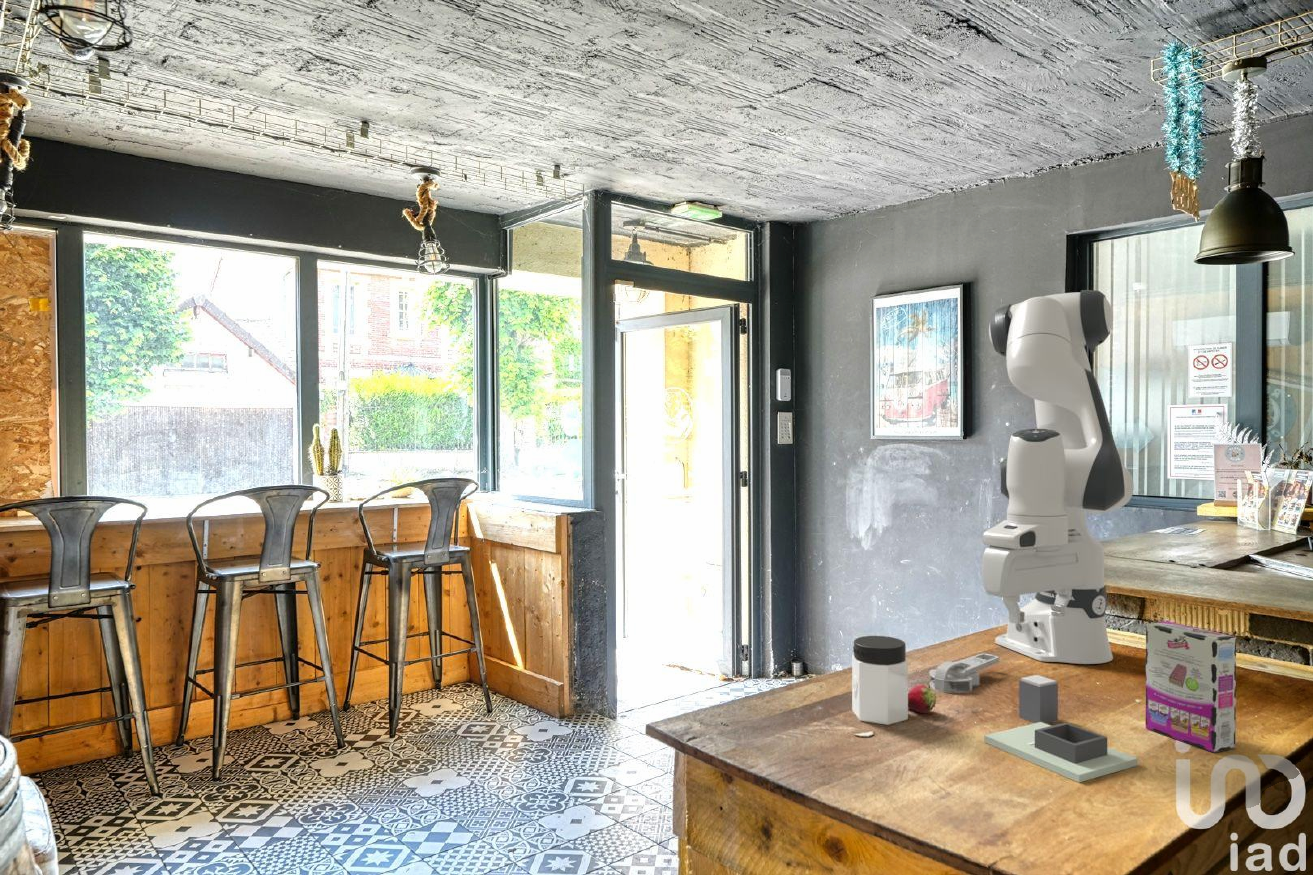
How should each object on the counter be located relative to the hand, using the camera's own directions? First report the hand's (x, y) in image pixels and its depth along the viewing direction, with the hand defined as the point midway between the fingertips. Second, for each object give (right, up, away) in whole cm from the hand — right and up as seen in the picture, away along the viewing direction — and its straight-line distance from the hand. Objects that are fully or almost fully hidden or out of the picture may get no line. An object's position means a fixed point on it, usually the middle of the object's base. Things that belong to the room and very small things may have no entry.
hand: (1038, 619), depth 138 cm
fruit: (-17, -16, +5) cm, 24 cm away
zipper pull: (-4, -16, +21) cm, 26 cm away
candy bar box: (+19, -16, -8) cm, 26 cm away
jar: (-24, -16, +3) cm, 29 cm away
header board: (-3, -16, -13) cm, 21 cm away
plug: (0, -16, +1) cm, 16 cm away
